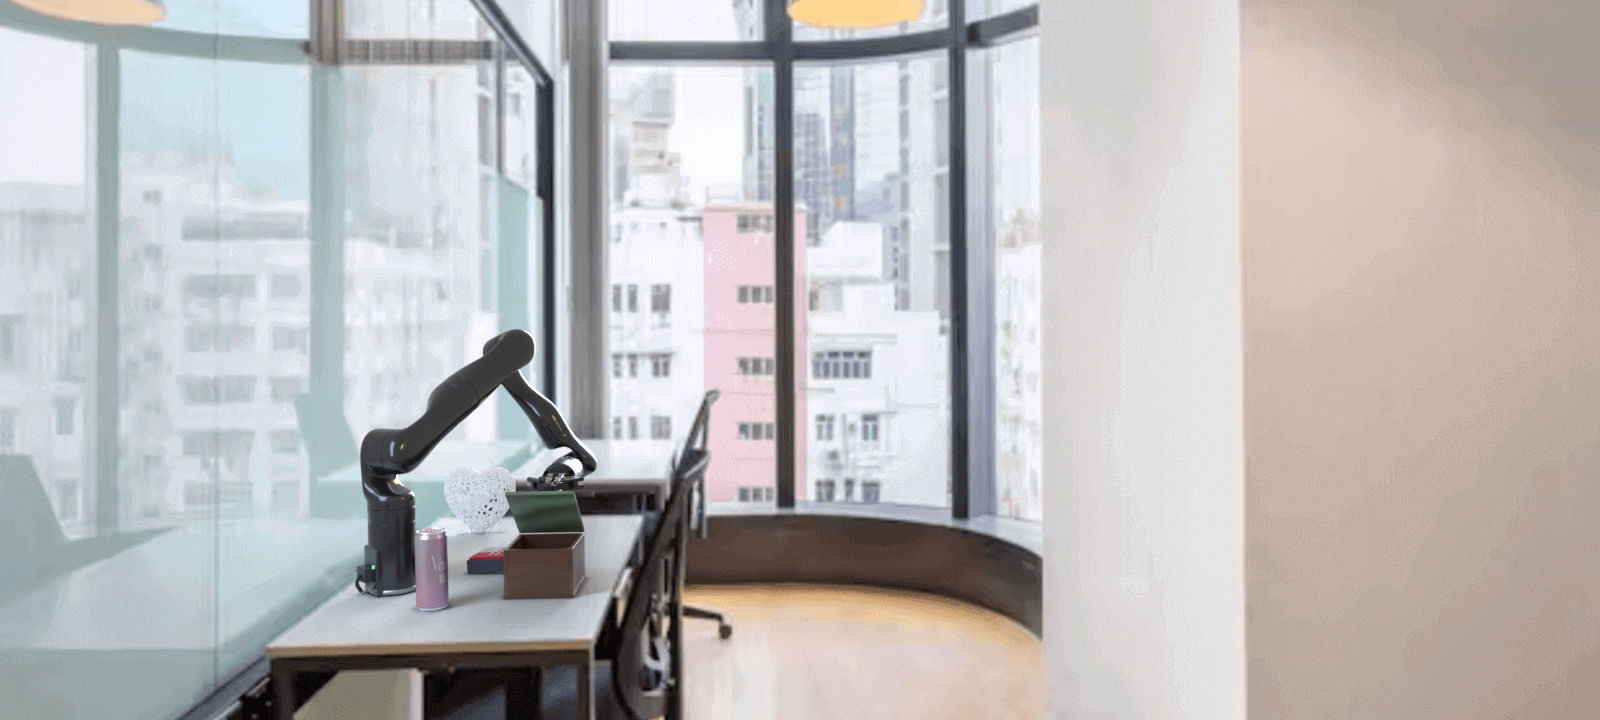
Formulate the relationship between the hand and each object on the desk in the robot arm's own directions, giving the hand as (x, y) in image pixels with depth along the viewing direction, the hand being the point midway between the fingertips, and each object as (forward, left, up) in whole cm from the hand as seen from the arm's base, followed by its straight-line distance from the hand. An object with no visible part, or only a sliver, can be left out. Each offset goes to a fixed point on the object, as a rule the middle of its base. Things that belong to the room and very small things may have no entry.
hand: (548, 489), depth 224 cm
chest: (-3, -3, -20) cm, 20 cm away
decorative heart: (+14, +58, -20) cm, 63 cm away
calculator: (0, +18, -20) cm, 27 cm away
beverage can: (-26, 0, -20) cm, 33 cm away
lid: (-2, -3, -5) cm, 6 cm away
